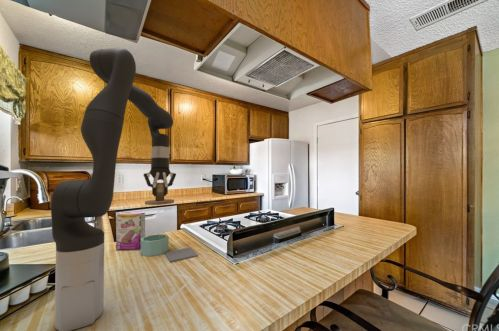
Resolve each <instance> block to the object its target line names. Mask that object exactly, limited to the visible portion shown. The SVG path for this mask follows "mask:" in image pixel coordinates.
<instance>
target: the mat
mask: <svg viewBox="0 0 499 331" xmlns="http://www.w3.org/2000/svg"><path fill="white" fill-rule="evenodd" d="M165 256H166V258H167V260H168V261H169V263H173V262H178V261H183V260H188V259H192V258H196V257H197V258H198V256H199V254H197V253H196V251H195V250H194V249H193V248H192V247H191V246H190V247H184V248H179V249H173V250H168V251H166V252H165Z"/></svg>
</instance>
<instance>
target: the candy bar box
mask: <svg viewBox="0 0 499 331" xmlns="http://www.w3.org/2000/svg"><path fill="white" fill-rule="evenodd" d="M115 225H116V231H115V233H116V234H115V235H116V237H115V238H116V240H115V242H116V243H115V251H124V250H125V251H127V250H126V249H134V250H136V251H137V250H139V251H140V242H141V238H143V237H145V236H146V212H143V211H142V212H140V211H139V212H137V211H136V212H135V211H134V212H130V211H129V212H127V211H126V212H120V213H117V214H116V224H115ZM134 250H133V251H134Z"/></svg>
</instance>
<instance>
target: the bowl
mask: <svg viewBox="0 0 499 331" xmlns="http://www.w3.org/2000/svg"><path fill="white" fill-rule="evenodd" d="M169 238H170V237H169V236H168V234H167V233H166V234H164V233H156V234H148V235H145V237H143V238H141V242H140V250H139V251H140V255H141V256H144V257H154V256H159V255H163V254H164V253H165V252H168V251H170V250H169V249H170V248H169V247H170V246H169V244H170V243H169Z"/></svg>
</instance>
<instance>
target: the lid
mask: <svg viewBox="0 0 499 331" xmlns="http://www.w3.org/2000/svg"><path fill="white" fill-rule="evenodd" d="M154 197H155V199H151V200H144V205H147V206H159V205H160V206H162V205H169V204H170V205H171V204H174V203H175V199H171V198H169V199H168V198H165V196H164V183H163V182H157V184H156V196H154Z"/></svg>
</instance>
